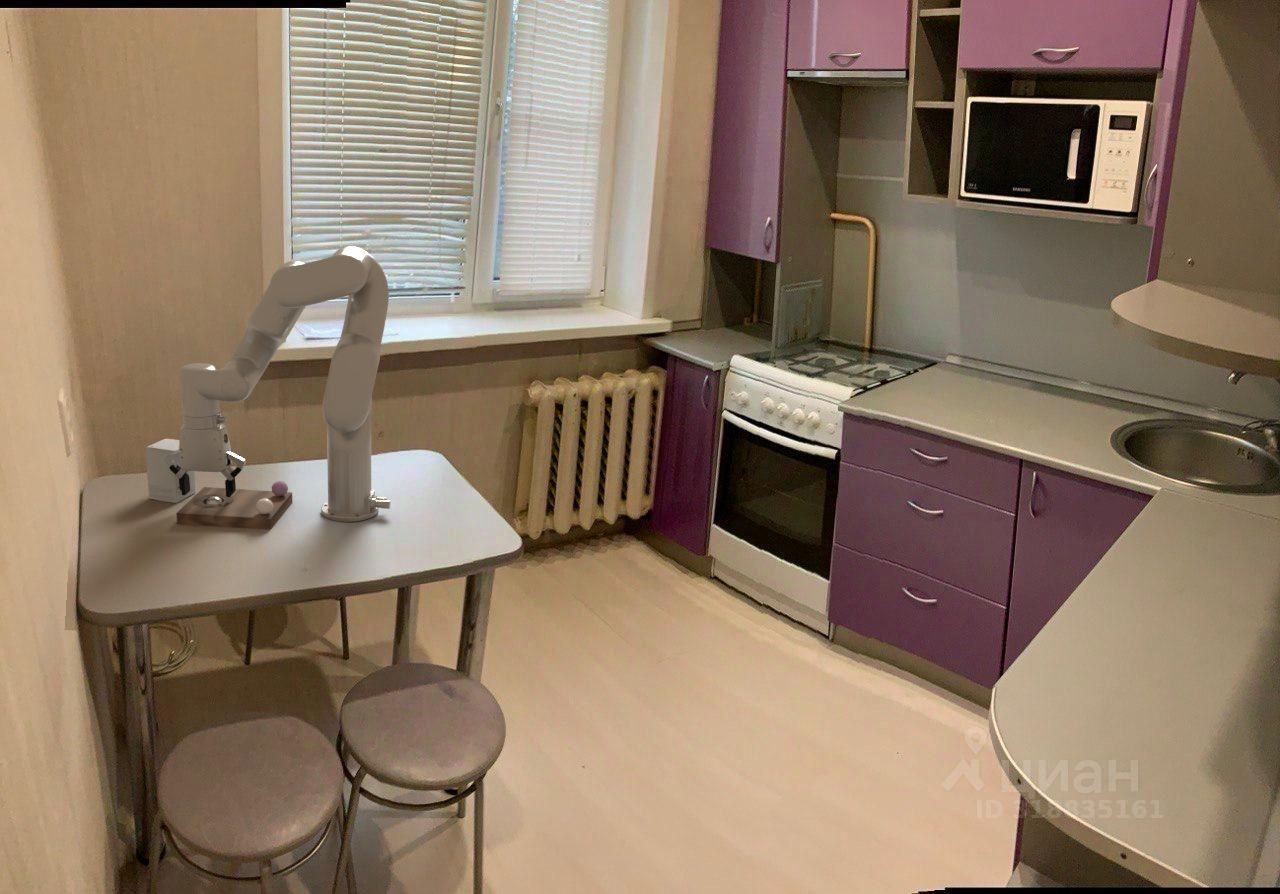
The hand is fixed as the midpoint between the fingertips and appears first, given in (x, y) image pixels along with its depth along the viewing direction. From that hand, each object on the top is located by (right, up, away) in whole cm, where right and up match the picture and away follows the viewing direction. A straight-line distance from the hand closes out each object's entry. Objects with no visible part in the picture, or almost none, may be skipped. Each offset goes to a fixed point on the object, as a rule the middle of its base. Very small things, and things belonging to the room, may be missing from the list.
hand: (208, 494), depth 231 cm
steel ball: (+1, -2, +1) cm, 3 cm away
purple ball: (+14, +1, +6) cm, 15 cm away
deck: (+6, -4, +1) cm, 7 cm away
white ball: (+14, -2, -5) cm, 15 cm away
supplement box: (-11, -1, +8) cm, 14 cm away
